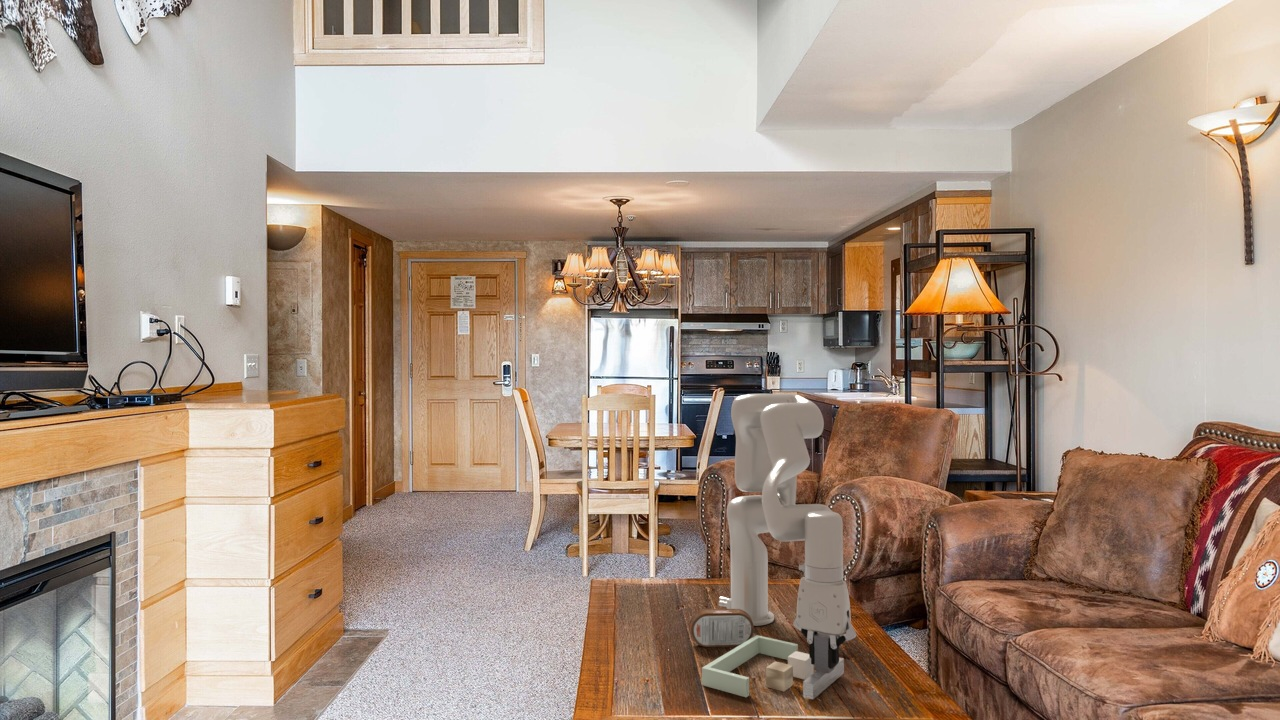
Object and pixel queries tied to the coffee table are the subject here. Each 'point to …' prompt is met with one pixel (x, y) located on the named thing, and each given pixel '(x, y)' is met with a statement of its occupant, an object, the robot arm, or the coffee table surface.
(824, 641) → the slider lever
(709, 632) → the tin
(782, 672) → the maple block
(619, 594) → the coffee table surface
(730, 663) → the block corral
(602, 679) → the coffee table surface
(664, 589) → the coffee table surface
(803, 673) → the cream block
